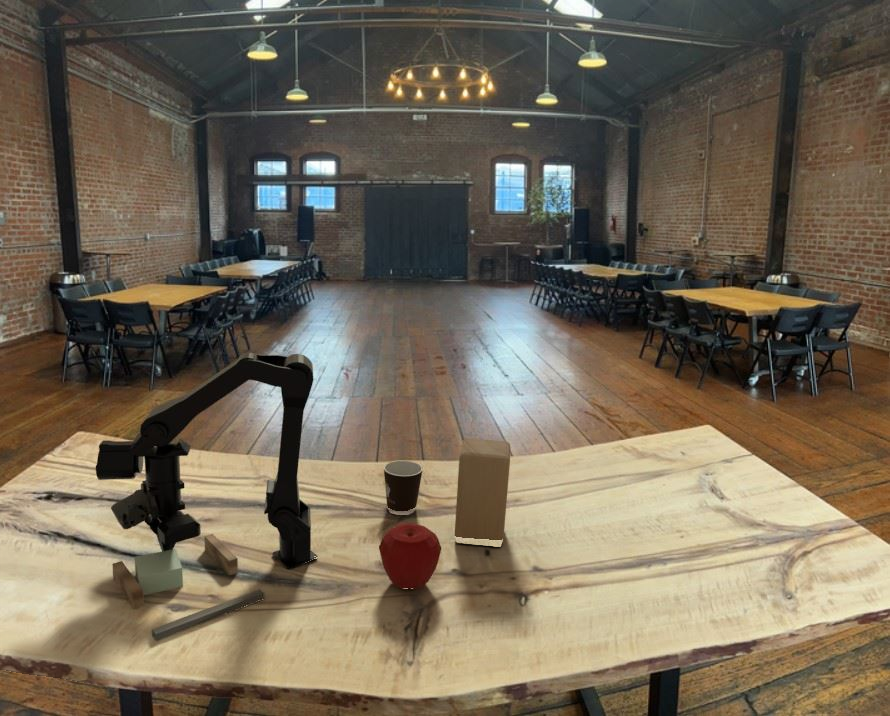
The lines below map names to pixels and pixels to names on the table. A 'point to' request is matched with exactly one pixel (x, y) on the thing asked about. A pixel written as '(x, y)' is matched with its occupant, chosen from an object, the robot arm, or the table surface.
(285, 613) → the table surface
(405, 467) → the coffee mug
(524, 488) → the table surface
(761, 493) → the table surface
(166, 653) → the table surface
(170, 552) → the sage block
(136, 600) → the set of wooden bars
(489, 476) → the wooden block
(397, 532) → the apple
